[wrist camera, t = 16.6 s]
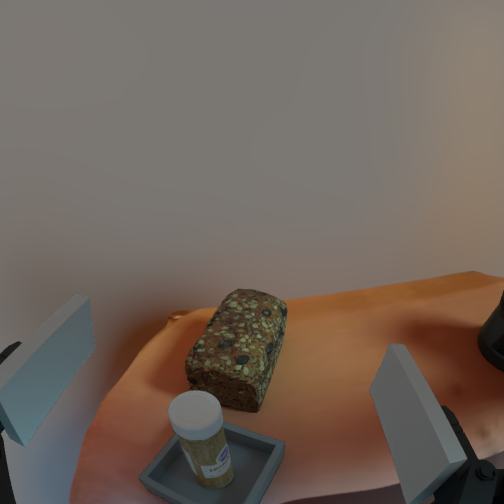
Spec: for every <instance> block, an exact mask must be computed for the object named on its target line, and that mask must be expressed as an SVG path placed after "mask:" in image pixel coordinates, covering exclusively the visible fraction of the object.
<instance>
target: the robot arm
mask: <svg viewBox="0 0 504 504" xmlns="http://www.w3.org/2000/svg"><path fill="white" fill-rule="evenodd" d="M478 345H479V348H480V350H481V352H482V354H483V355H484V356H485V358H486V359H487V360H488V361H489V362H490V363H492V364H493V365H494V366H496V367H497V368H499V369H501V370H503V371H504V291H503V294H502V297H501V300H500V303H499V305H498V306H497V307H496V309H495V310H494V311H493V313H492V314H491V315H490V317H489V318H488V319H487V321H486V322H485V323H484V325H483V326H482V329H481V331H480V334H479V336H478ZM95 348H96V346H95V340H94V332H93V325H92V316H91V308H90V298H89V297H85V296H81V295H77V294H75V295H74V296H73V297H72V298H71V299H69V300H68V301H67V302H66V303H65V304H64V305H63V306H61V307H60V308H59V309H58V310H57V311H56V312H55V313H54V314H53V315H51V316H50V317H49V318H48V319H47V320H46V321H45V322H44V323H43V324H42V325H41V326H40V327H39V328H37V329H36V330H35V331H34V332H33V333H32V334H31V335H30V336H29V337H28V338H27V339H26V340H25V341H24V342H23V343H21V342H19V341H18V342H16V343H14V344H12V345H10V346H8V347H7V348H6V349H5V350H4V351H3V352H2V353H1V354H0V504H16V502H15V499H14V494H13V490H12V486H11V481H10V477H9V472H8V466H7V461H6V455H5V448H4V441H3V438H2V436H1V433H2V431H3V430H4V429H5V430H6V432H7V434H8V435H9V437H10V439H12V440H14V441H15V442H17V443H19V444H20V445H22V446H24V447H26V446H27V444H28V443H29V441H30V440H31V438H32V437H33V435H34V434H35V432H36V430H37V429H38V428H39V426H40V425H41V423H42V422H43V420H44V419H45V417H46V416H47V414H48V413H49V411H50V410H51V409H52V407H53V405H54V404H55V403H56V401H57V400H58V399H59V397H60V396H61V394H62V393H63V392H64V390H65V389H66V387H67V386H68V384H69V383H70V382H71V380H72V379H73V378H74V376H75V375H76V374H77V372H78V371H79V370H80V368H81V367H82V365H83V364H84V363H85V361H86V360H87V359H88V357H89V356H90V355H91V353H92V352H93V351H94V349H95ZM369 391H370V394H371V397H372V399H373V402H374V405H375V408H376V411H377V414H378V416H379V419H380V422H381V425H382V428H383V431H384V434H385V437H386V440H387V443H388V446H389V449H390V452H391V455H392V458H393V461H394V465H395V468H396V471H397V474H398V478H399V481H400V484H401V488H402V491H403V494H404V498H405V501H406V504H416V503H421V502H424V501H425V500H426V499H427V498H429V497H430V496H431V495H432V494H434V497H435V500H434V501H433V502H432V503H431V504H504V469H496V468H495V467H494V466H493V465H492V463H490V462H489V461H487V460H482V459H481V460H479V459H478V458H477V456H476V454H475V452H474V450H473V448H472V446H471V444H470V442H469V440H468V439H467V437H466V435H465V433H463V429H462V427H461V426H460V425H459V422H458V420H457V418H456V417H455V415H454V413H453V412H451V411H450V410H449V409H448V408H447V407H446V406H440V405H439V403H438V401H437V399H436V398H435V396H434V394H433V392H432V390H431V389H430V387H429V385H428V383H427V382H426V380H425V378H424V376H423V375H422V373H421V371H420V370H419V368H418V366H417V365H416V363H415V361H414V360H413V358H412V356H411V355H410V353H409V351H408V350H407V348H406V346H405V345H404V344H389V347H388V349H387V351H386V354H385V356H384V358H383V361H382V363H381V365H380V367H379V370H378V372H377V374H376V376H375V378H374V380H373V382H372V384H371V387H370V389H369Z"/></svg>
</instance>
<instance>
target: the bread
mask: <svg viewBox="0 0 504 504" xmlns="http://www.w3.org/2000/svg"><path fill="white" fill-rule="evenodd" d="M286 305H287V304H285V302H284V301H282V300H279V299H278V298H276V297H274V296H272V295H269V294H267V293H264V292H260V291H257V290H253V289H238V290H235V291H234V292H231V293H230V294H229V295H227V296H226V298H225V299H224V300H223V301H222V303H221V305H220V306H219V307H218V308H217V311H215V313H214V315H213V317H212V318H211V320H210V321H209V322H208V324H207V327H206V329H205V332H204V334H203V335H202V336H201V337H200V338H198V340H197V341H196V343H195V345H194V347H193V348H192V349H191V350H190V352H189V355H188V357H187V359H186V361H185V362H186V365H185V370H186V374H187V380H188V381H190V383H189V386H190V389H192V391H204V392H207V393H210V394H212V395H213V396H214V397H216V398H217V400H218V401H219V403H220V404H222V405H227V406H231V407H233V408H235V409H238V410H245V411H248V412H255V413H257V412H258V411H259V409H260V407H261V404H262V402H263V399H264V396H265V393H266V390H267V387H268V385H269V383H270V380H271V377H272V374H273V370H274V368H275V365H276V362H277V358H278V356H279V352H280V349H281V346H282V342H283V339H284V333H285V328H286V322H287V308H286Z"/></svg>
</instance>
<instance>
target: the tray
mask: <svg viewBox="0 0 504 504" xmlns="http://www.w3.org/2000/svg"><path fill="white" fill-rule="evenodd" d="M222 425H223V429H224V434H225V438H226V443H227V445H228V449H229V454H230V458H231V465H232V467H233V470H234V476H233V479H232V481H231V482H230V483H229V484H227V485H226V486H225V487H223V488H219V489H208V488H205V487H203V486H202V485H200V484H199V483H198V481H197V480H196V478H195V474H194V472H193V470H192V469H191V467H190V465H189V462H188V460H187V458H186V456H185V454H184V451H183V449H182V446H181V443H180V440H179V437H178V435H177V433H175V434H174V435H173V437H172V438H171V439H170V440H169V441H168V443H167V444H166V445H165V446H164V447H163V449H162V450H161V451H160V452H159V453H158V455H157V456H156V457H155V458H154V459H153V461H152V462H151V463H150V464H149V465H148V466H147V468H146V469H145V470H144V471H143V472H142V473H141V474H140V476H139V477H138V479H139V480H140V481H141V483H142V484H143V485H144V486H145V488H146V489H147V490H149V491H150V492H152V493H154V494H156V495H157V496H159V497H161V498H162V499H164V500H166V501H168V502H170V503H172V504H259V503H260V501H261V499H262V497H263V496H264V494H265V492H266V490H267V488H268V486H269V485H270V483H271V481H272V479H273V477H274V475H275V473H276V471H277V469H278V467H279V465H280V463H281V461H282V459H283V457H284V452H285V442H284V441H280V440H277V439H274V438H270V437H267V436H264V435H261V434H258V433H255V432H252V431H249V430H246V429H243V428H240V427H237V426H234V425H231V424H229V423H226V422H223V423H222Z"/></svg>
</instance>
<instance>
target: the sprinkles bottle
mask: <svg viewBox="0 0 504 504" xmlns="http://www.w3.org/2000/svg"><path fill="white" fill-rule="evenodd" d="M168 416H169V419H170V422H171V425H172V428H173V429H174V431H175V432H176V433H177V435H178V437H179V440H180V443H181V446H182V449H183V451H184V454H185V456H186V458H187V460H188V462H189V465H190V467H191V469H192V470H193V472H194V474H195V478H196V480H197V481H198V483H199V484H200V485H202V486H203V487H205V488H208V489H219V488H223V487H225V486H226V485H227V484H229V483H230V482H231V481H232V479H233V476H234V470H233V467H232V465H231V458H230V454H229V449H228V445H227V443H226V438H225V434H224V429H223V425H222V423H223V414H222V409H221V405H220V403H219V401H218V400H217V398H216V397H214V396H213V395H212V394H210V393H207V392H204V391H188V392H184V393H182V394H180V395H178V396H177V397H175V398H174V399H173V400H172V402H171V403H170V405H169V408H168Z"/></svg>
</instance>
